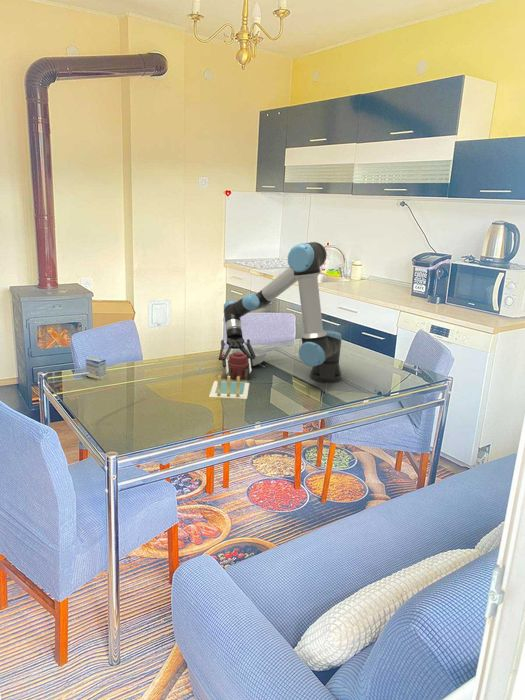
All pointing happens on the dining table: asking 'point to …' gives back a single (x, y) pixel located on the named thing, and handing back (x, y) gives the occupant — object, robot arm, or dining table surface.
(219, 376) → the pin
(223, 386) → the header board
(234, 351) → the cereal bowl
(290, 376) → the dining table surface
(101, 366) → the medicine box
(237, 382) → the pin
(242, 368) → the mechanical component
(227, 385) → the pin
